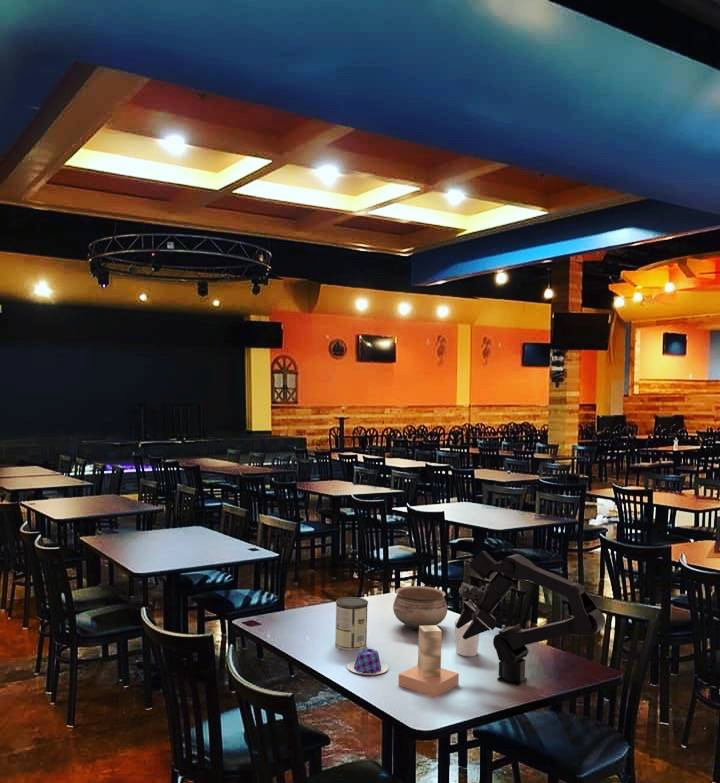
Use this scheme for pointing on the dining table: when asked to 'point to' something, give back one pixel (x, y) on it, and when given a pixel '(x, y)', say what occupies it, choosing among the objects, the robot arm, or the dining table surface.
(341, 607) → the coffee can
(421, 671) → the maple block
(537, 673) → the dining table surface
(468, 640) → the white cup
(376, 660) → the pudding
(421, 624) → the cooking pot
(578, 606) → the robot arm
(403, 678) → the terracotta base
